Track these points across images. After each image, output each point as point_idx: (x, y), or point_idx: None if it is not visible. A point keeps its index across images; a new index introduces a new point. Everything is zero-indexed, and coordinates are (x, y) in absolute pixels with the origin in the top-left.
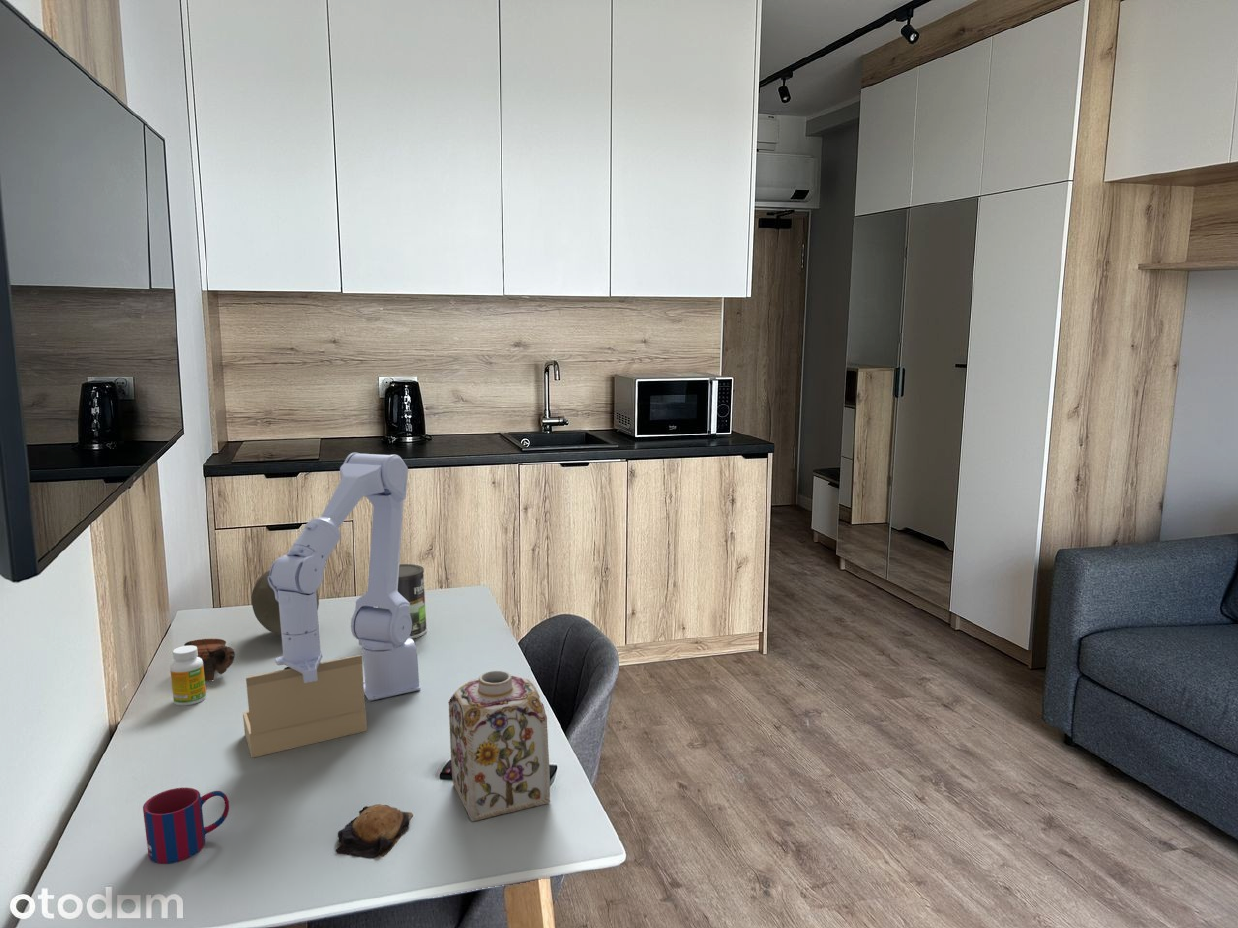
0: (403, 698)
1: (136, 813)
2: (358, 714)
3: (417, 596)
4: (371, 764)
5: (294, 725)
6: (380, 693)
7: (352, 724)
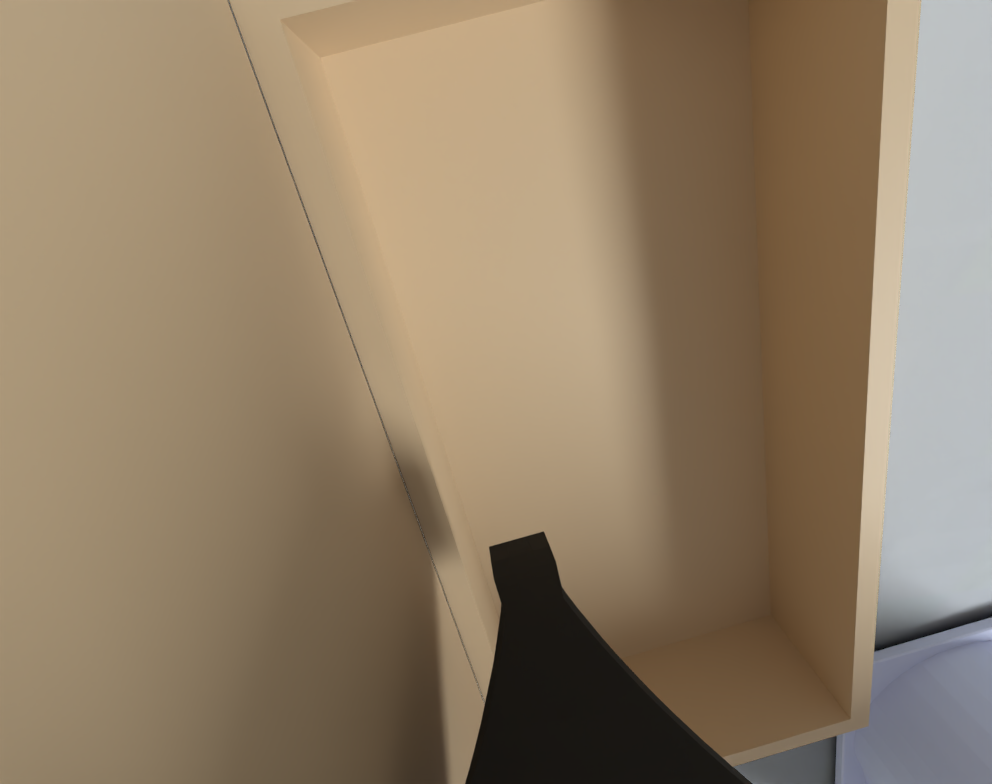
0: (791, 769)
1: None
2: None
3: None
4: None
5: (392, 445)
6: (871, 713)
7: None
